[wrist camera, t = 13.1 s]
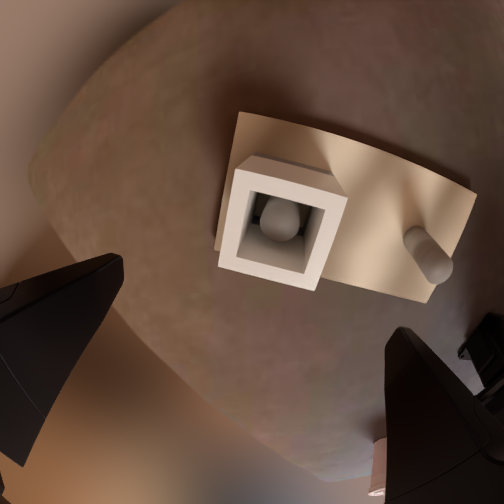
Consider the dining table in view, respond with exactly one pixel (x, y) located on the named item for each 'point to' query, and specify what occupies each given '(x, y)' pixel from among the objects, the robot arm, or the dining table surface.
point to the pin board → (361, 208)
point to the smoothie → (379, 468)
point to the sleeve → (307, 238)
